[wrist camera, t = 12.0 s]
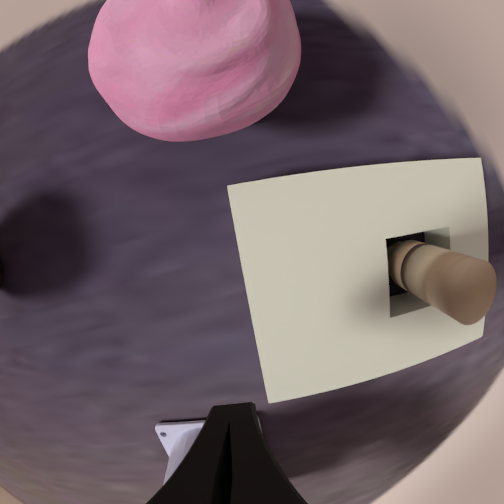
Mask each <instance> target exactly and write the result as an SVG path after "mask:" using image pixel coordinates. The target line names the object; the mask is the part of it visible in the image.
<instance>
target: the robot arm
mask: <svg viewBox="0 0 504 504" xmlns="http://www.w3.org/2000/svg"><path fill="white" fill-rule="evenodd" d="M155 430H156V432H157V434H158V436H159V438H160V440H161V442H162V444H163V446H164V448H165V450H166V452H167V454H168V456H169V462H168V466H167V471H166V475H165V479H164V484H163V486H162V487H161V489H160V490H159V491H158V492H157V493H156V494H155V495H154V496H153V497H152V498H151V499H150V500H149V501H148V502H147V503H146V504H307V502H306V501H305V500H304V499H303V498H302V496H301V495H300V494H299V493H298V492H297V490H296V489H295V488H294V486H293V485H292V484H291V482H290V481H289V480H288V478H287V477H286V475H285V474H284V472H283V471H282V469H281V468H280V466H279V464H278V463H277V461H276V459H275V458H274V456H273V454H272V452H271V450H270V448H269V446H268V444H267V442H266V440H265V438H264V436H263V433H262V429H261V425H260V421H259V418H258V416H257V412H256V407H255V404H253V403H252V402H248V403H239V404H229V405H218V406H213V407H212V408H211V410H210V412H209V414H208V417H207V419H206V420H199V421H186V422H166V423H157V424H156V427H155ZM162 432H164V433H166V434H164V433H162Z"/></svg>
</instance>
